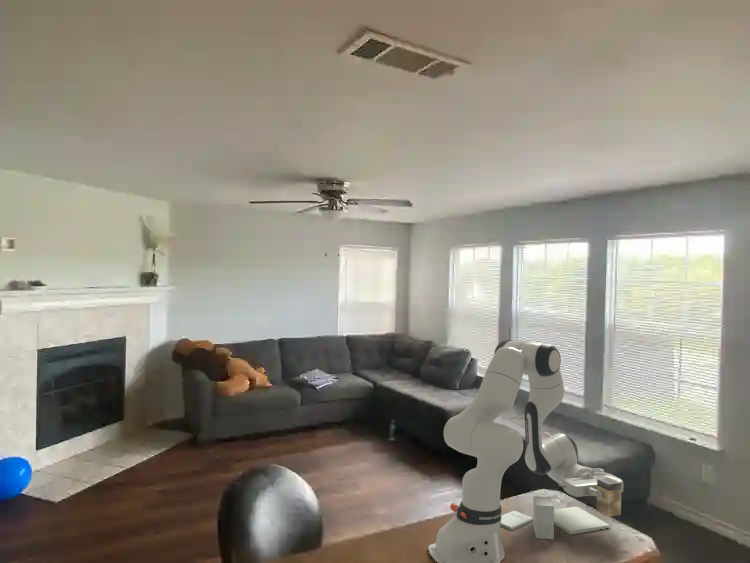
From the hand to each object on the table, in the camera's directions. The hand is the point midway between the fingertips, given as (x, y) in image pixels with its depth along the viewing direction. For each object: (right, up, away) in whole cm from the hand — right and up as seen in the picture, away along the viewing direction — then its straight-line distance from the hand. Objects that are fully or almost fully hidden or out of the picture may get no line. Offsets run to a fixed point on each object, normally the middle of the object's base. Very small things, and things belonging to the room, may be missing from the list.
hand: (611, 494), depth 169 cm
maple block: (0, -6, +1) cm, 6 cm away
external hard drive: (-28, -15, +12) cm, 34 cm away
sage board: (-7, -14, +13) cm, 21 cm away
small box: (-20, -14, +3) cm, 25 cm away
